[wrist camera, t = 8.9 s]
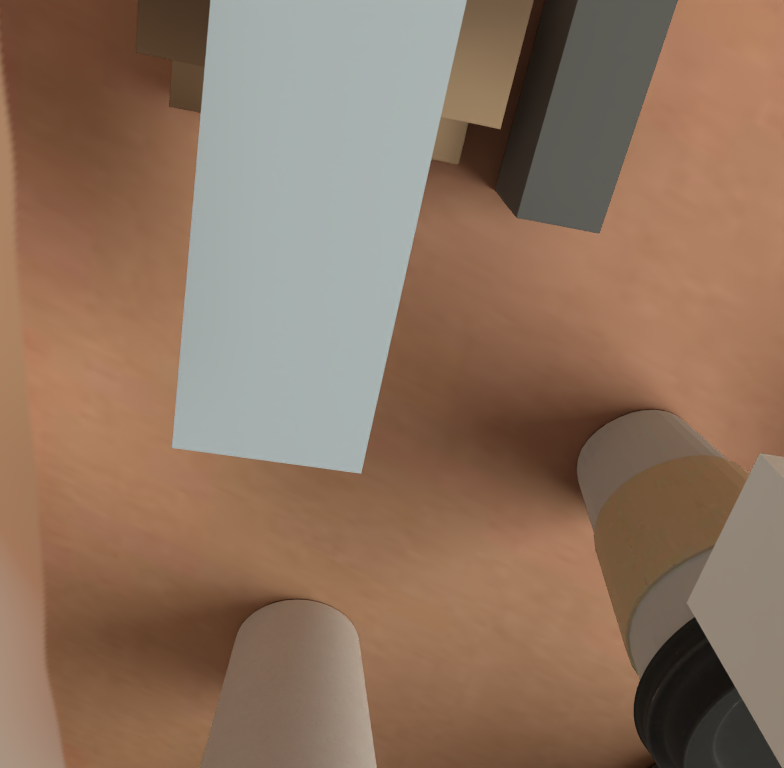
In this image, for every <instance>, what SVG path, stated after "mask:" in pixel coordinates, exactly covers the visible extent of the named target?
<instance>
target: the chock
mask: <svg viewBox="0 0 784 768" xmlns="http://www.w3.org/2000/svg"><path fill="white" fill-rule="evenodd" d="M677 1H678V0H545V3H544V7H543V11H542V14H541V18H540V22H539V26H538V29H537V33H536V37H535V41H534V44H533V48H532V52H531V56H530V60H529V63H528V67H527V71H526V75H525V78H524V82H523V86H522V90H521V94H520V97H519V101H518V105H517V109H516V112H515V116H514V120H513V124H512V128H511V131H510V135H509V139H508V143H507V146H506V150H505V154H504V158H503V162H502V165H501V169H500V173H499V177H498V180H497V184H496V188H495V191H496V192H497V194H498V195H499V196H500V197H501V199H502V200H503V201H504V202H505V204H506V205H507V206H508V207H509V209H510V210H511V211H512V212H513V214H514V215H515V216H516V218H521V219H526V220H532V221H537V222H542V223H547V224H552V225H558V226H563V227H568V228H573V229H578V230H584V231H589V232H594V233H600V230H601V227H602V224H603V221H604V218H605V215H606V212H607V209H608V206H609V203H610V201H611V198H612V195H613V192H614V189H615V186H616V183H617V180H618V177H619V174H620V171H621V168H622V165H623V162H624V159H625V156H626V153H627V150H628V147H629V144H630V141H631V138H632V135H633V132H634V129H635V126H636V123H637V120H638V117H639V114H640V111H641V108H642V105H643V102H644V99H645V96H646V93H647V90H648V87H649V84H650V81H651V78H652V75H653V73H654V70H655V67H656V64H657V61H658V58H659V55H660V52H661V49H662V46H663V43H664V40H665V37H666V34H667V31H668V28H669V25H670V22H671V19H672V16H673V13H674V10H675V7H676V4H677Z"/></svg>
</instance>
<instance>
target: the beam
mask: <svg viewBox="0 0 784 768" xmlns="http://www.w3.org/2000/svg"><path fill="white" fill-rule="evenodd" d="M466 2H467V0H210V11H209V23H208V35H207V46H206V58H205V69H204V81H203V93H202V104H201V116H200V128H199V139H198V151H197V163H196V174H195V186H194V197H193V209H192V221H191V232H190V244H189V256H188V267H187V279H186V291H185V302H184V314H183V326H182V337H181V349H180V360H179V372H178V384H177V395H176V407H175V419H174V430H173V442H172V448H177V449H184V450H191V451H199V452H206V453H213V454H221V455H228V456H236V457H243V458H250V459H258V460H265V461H272V462H280V463H287V464H294V465H302V466H309V467H316V468H324V469H331V470H339V471H346V472H353V473H361V472H362V468H363V463H364V459H365V454H366V450H367V445H368V441H369V436H370V432H371V427H372V423H373V418H374V414H375V409H376V405H377V400H378V396H379V391H380V387H381V382H382V378H383V374H384V369H385V365H386V360H387V356H388V351H389V347H390V342H391V338H392V333H393V329H394V324H395V320H396V315H397V311H398V306H399V302H400V297H401V293H402V288H403V284H404V279H405V275H406V271H407V266H408V262H409V257H410V253H411V248H412V244H413V239H414V235H415V230H416V226H417V221H418V217H419V212H420V208H421V203H422V199H423V194H424V190H425V185H426V181H427V176H428V172H429V167H430V163H431V159H432V154H433V150H434V145H435V141H436V136H437V132H438V127H439V123H440V118H441V114H442V109H443V105H444V100H445V96H446V91H447V87H448V82H449V78H450V73H451V69H452V64H453V60H454V56H455V51H456V47H457V42H458V38H459V33H460V29H461V24H462V20H463V15H464V11H465V6H466Z"/></svg>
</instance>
